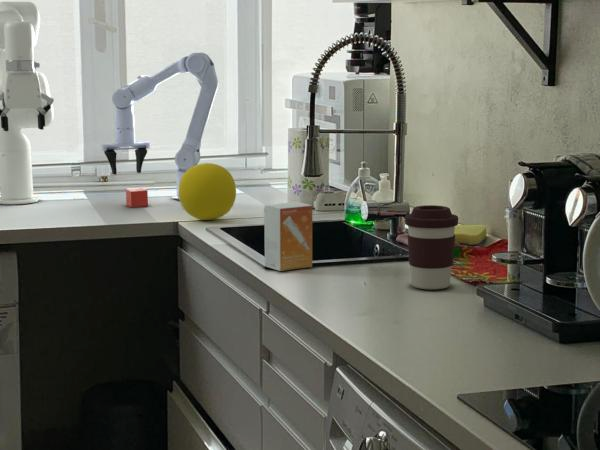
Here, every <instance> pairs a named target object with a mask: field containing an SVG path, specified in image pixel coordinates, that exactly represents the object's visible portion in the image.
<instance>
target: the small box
mask: <svg viewBox="0 0 600 450" xmlns="http://www.w3.org/2000/svg"><path fill="white" fill-rule="evenodd" d="M263 207H264V208H263V209H264V210H263V215H264V216H263V217H264V220H263V221H264V225H263V226H264V227H263V228H264V267H265V268H268V269H272V270H275V271H279V272H282V271H289V270H297V269H306V268H312V267H313V205H312V204H308V203H304V202H300V201H293V202H281V203H274V204H264V206H263Z"/></svg>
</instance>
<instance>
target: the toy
mask: <svg viewBox="0 0 600 450" xmlns="http://www.w3.org/2000/svg"><path fill="white" fill-rule="evenodd" d="M236 197H237V187H236V182H235V180H234V177H233V175H232V174H231V173H230V171H228V169H226V168H225V167H224V166H222V165H219V164H218V163H211V162H203V163H198V164H197V165H195V166H193V167H191V168H190V169H188V170H187V171H186V172H185V173H184V175H183V176H182V178H181V181H180V184H179V198H180V200H179V202H180V204H181V206H182V208H183V209H184V211H185V212H186V213H187V214H188V215H190V216H191V217H193V218H195V219H197V220H203V221H210V220H211V221H212V220H216V219H217V220H218V219H219V218H222V217H224V216H225V215H227V214H228V213H229V212H230V211H231V209H232V208H233V206H234V204H235V201H236Z"/></svg>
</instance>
